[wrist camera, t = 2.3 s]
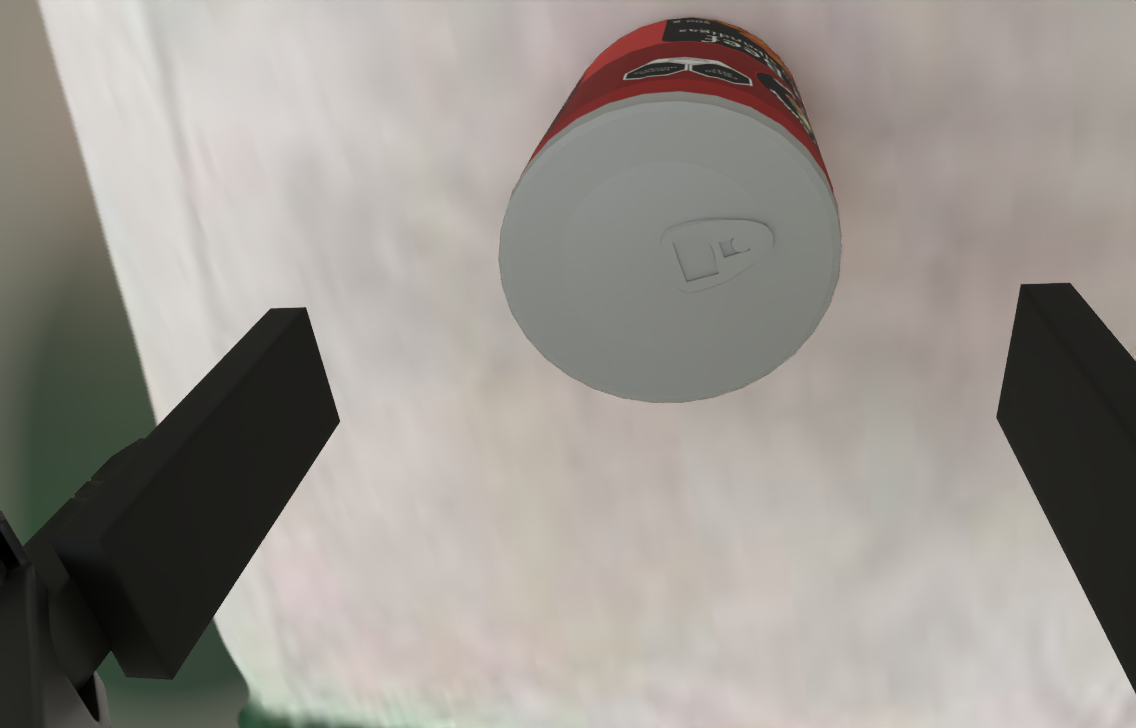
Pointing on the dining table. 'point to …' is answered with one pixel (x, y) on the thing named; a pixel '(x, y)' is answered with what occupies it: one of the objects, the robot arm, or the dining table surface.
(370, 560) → the dining table surface
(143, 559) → the robot arm
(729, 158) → the canned food
